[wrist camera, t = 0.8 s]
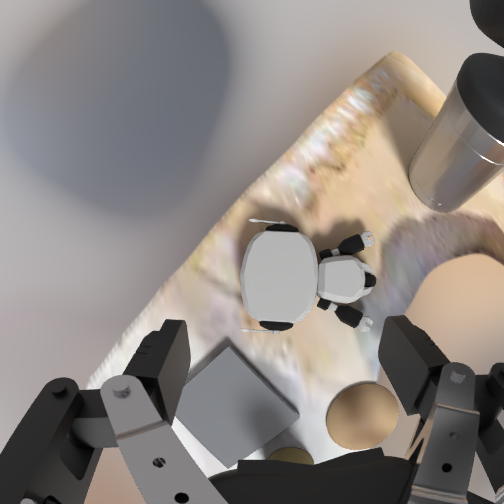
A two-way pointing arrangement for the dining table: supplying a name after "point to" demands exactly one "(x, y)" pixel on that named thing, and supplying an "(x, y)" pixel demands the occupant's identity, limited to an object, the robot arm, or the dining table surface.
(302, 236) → the robot toy
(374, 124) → the dining table surface
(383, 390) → the cork coaster
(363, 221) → the dining table surface
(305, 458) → the pepper shaker
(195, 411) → the slate tile
